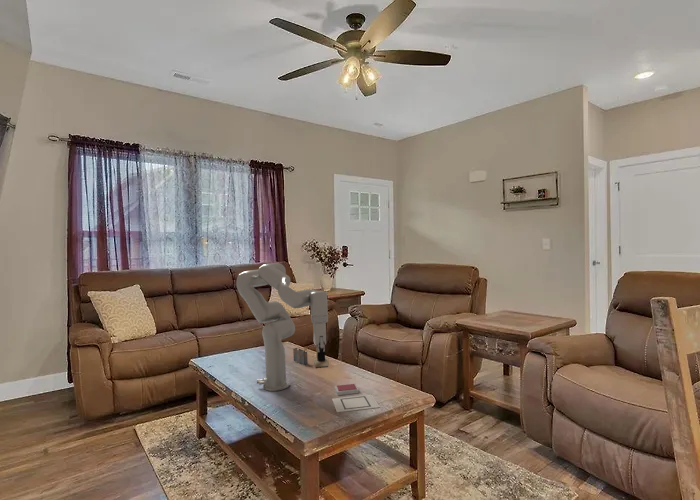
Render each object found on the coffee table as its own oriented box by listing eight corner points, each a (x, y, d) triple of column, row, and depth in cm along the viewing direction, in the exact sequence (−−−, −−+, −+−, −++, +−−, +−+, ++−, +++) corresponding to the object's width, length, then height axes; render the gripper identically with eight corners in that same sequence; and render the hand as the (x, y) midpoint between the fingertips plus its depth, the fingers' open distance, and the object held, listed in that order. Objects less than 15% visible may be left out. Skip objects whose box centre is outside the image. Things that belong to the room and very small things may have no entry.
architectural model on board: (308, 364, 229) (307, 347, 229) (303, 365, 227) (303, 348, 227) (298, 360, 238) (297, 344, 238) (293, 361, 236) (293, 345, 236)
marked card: (336, 412, 163) (336, 411, 163) (332, 399, 177) (332, 398, 177) (379, 407, 166) (379, 406, 166) (371, 395, 180) (371, 394, 180)
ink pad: (337, 395, 181) (337, 391, 181) (334, 388, 189) (334, 385, 189) (359, 392, 183) (358, 389, 183) (355, 386, 191) (355, 383, 191)
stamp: (315, 368, 176) (314, 346, 176) (313, 364, 182) (313, 343, 182) (328, 367, 177) (327, 345, 177) (327, 363, 183) (326, 342, 183)
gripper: (309, 315, 187) (311, 354, 187) (312, 322, 170) (314, 365, 171) (325, 314, 188) (326, 353, 188) (330, 321, 172) (331, 364, 172)
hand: (320, 358), depth 180 cm, fingers closed on stamp, 3 cm apart
